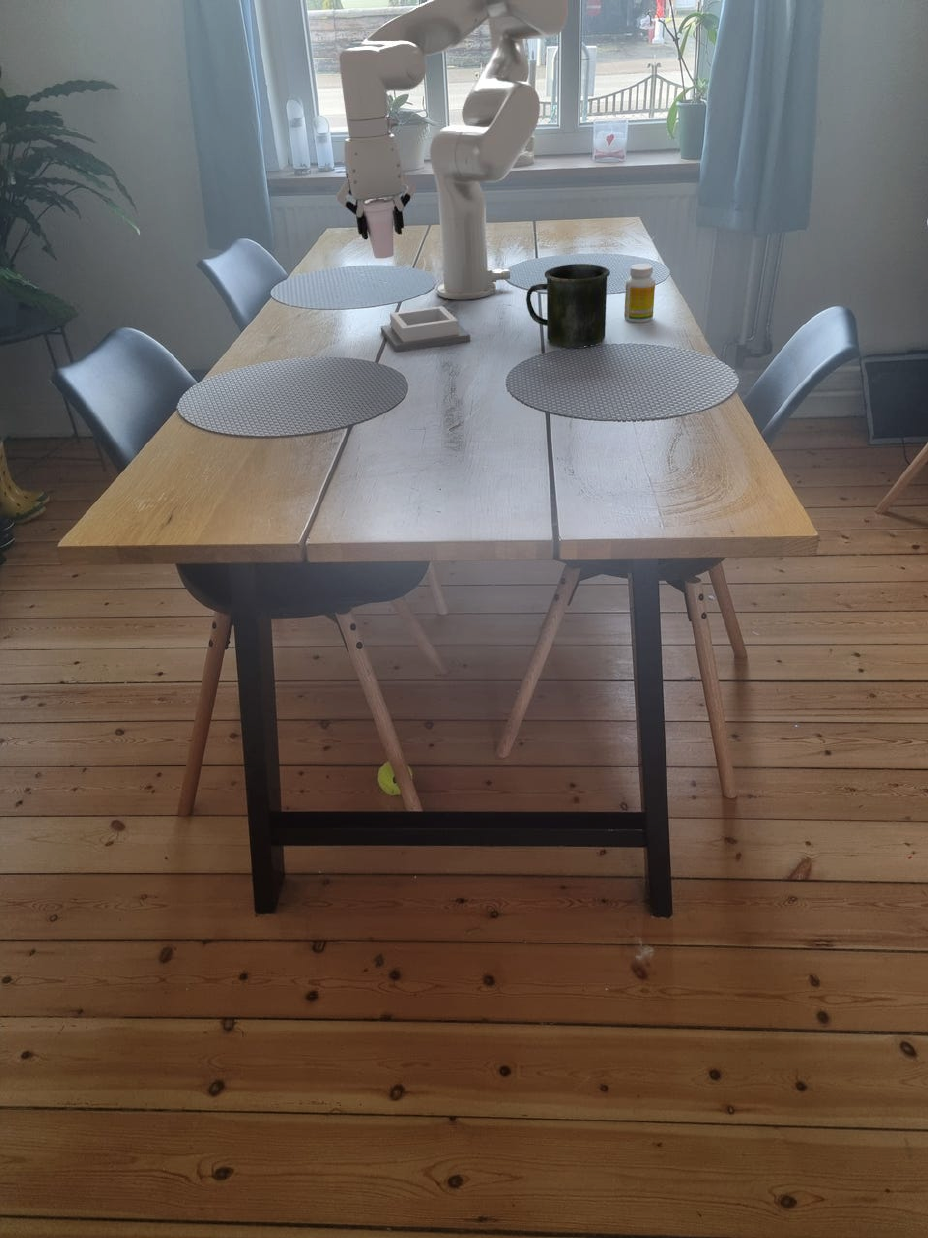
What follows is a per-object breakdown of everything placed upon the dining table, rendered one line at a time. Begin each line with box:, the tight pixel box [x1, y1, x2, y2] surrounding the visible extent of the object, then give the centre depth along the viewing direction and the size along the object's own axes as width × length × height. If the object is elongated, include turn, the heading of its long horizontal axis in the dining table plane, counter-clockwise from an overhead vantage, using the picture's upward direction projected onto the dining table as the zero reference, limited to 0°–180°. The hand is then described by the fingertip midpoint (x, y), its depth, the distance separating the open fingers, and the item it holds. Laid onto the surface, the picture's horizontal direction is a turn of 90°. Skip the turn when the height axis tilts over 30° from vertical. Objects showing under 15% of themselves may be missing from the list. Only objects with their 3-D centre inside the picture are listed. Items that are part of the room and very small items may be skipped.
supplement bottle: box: [623, 263, 656, 324], centre depth 169 cm, size 5×5×10 cm
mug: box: [525, 263, 611, 349], centre depth 160 cm, size 11×15×12 cm
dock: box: [380, 305, 471, 353], centre depth 169 cm, size 14×13×4 cm
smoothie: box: [363, 197, 395, 260], centre depth 170 cm, size 6×6×14 cm
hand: (381, 234), depth 172 cm, fingers closed on smoothie, 5 cm apart
